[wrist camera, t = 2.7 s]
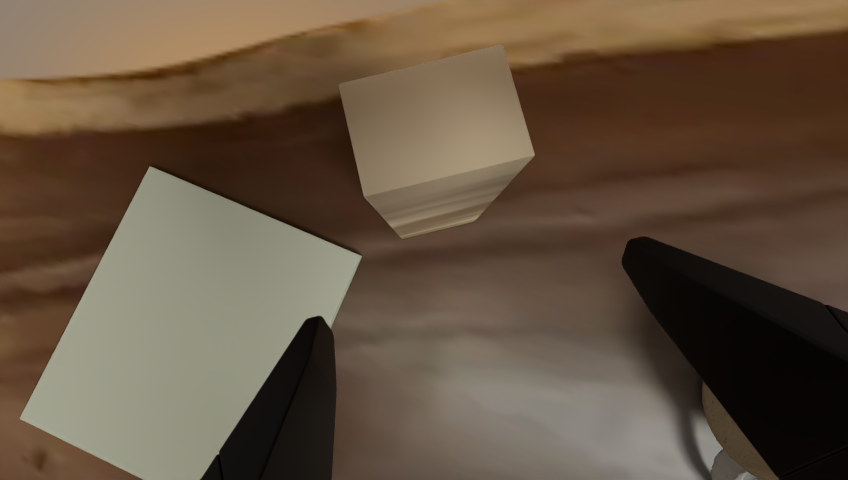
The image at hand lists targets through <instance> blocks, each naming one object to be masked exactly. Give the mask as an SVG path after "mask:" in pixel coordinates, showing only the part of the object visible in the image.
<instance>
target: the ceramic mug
mask: <svg viewBox="0 0 848 480" xmlns="http://www.w3.org/2000/svg"><path fill="white" fill-rule="evenodd" d="M702 402H703V407H704V413H705V416H706V419H707V421H708V424H709V426H710V429H711V431H712V433H713V434H714V436H715V438H716V440H717V441H718V442H719V444H720V445H721V446H722V447H723V450H721V451H720V452H719V453H718V454H717V456H716V457H715V459H714V463H713V466H712V470H711V477H712V480H743V479H744V477H745V476H746V474H747V473H748V472H749V473H751V474H752V475H754V476H755V477H757V478H759V479H760V480H778V477H776V476H775V474H774V473H773V472H772V470H771V469H770V468H769V467H768V465H767V464H766V463H765V461H764V460H763V459H762V457H761V456H760V455H759V453H758V452H757V451H756V450H755V448H754V447H753V446H752V444H751V443H750V442H749V440H748V439H747V438H746V436H745V435H744V434H743V433H742V431H741V430H740V429H739V427H738V426H737V425H736V423H735V422H734V421H733V419H732V418H731V417H730V416H729V414H728V413H727V412H726V410H725V409H724V408H723V406H722V405H721V404H720V402H719V401H718V400H717V399H716V397H715V396H714V395H713V393H712V392H711V391H710V389H709V388H708V387H707V385H706V384H705V383H704V382H703V385H702Z"/></svg>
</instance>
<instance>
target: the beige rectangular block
mask: <svg viewBox="0 0 848 480" xmlns="http://www.w3.org/2000/svg"><path fill="white" fill-rule="evenodd" d="M338 85H339V90H340V94H341V99H342V103H343V107H344V112H345V116H346V121H347V125H348V129H349V134H350V138H351V142H352V147H353V151H354V156H355V160H356V164H357V169H358V173H359V177H360V182H361V186H362V191H363V195H364V197H365V199H366V200H367V201H368V202H369V203H370V204H371V205H372V206H373V207H374V208H375V210H376V211H377V212H378V213H379V214H380V215H381V216H382V217H383V218H384V220H385V221H386V222H387V223H388V224H389V225H390V226H391V227H392V228H393V229H394V231H395V232H396V233H397V234H398V235H399V236H400V237H401V238H402V239H405V238H409V237H413V236H417V235H421V234H425V233H429V232H434V231H438V230H442V229H446V228H450V227H454V226H458V225H462V224H466V223H470V222H474V221H475V220H476V219H477V218H478V217H479V216H480V214H481V213H482V212H483V211H484V210H485V209H486V208H487V207H488V206H489V205H490V204H491V202H492V201H493V200H494V199H495V198H496V197H497V196H498V195H499V194H500V193H501V192H502V190H503V189H504V188H505V187H506V186H507V185H508V184H509V183H510V182H511V181H512V179H513V178H514V177H515V176H516V175H517V174H518V173H519V172H520V171H521V170H522V169H523V167H524V166H525V165H526V164H527V163H528V162H529V161H530V160H531V159H532V158H533V157H534V155H535V154H534V151H533V147H532V144H531V141H530V137H529V134H528V130H527V127H526V123H525V120H524V116H523V113H522V110H521V106H520V103H519V99H518V96H517V92H516V89H515V86H514V82H513V79H512V75H511V72H510V68H509V65H508V61H507V58H506V55H505V51H504V48H503V44H501V45H497V46H493V47H488V48H484V49H480V50H476V51H472V52H468V53H464V54H460V55H455V56H451V57H447V58H443V59H439V60H435V61H431V62H427V63H422V64H418V65H414V66H410V67H406V68H402V69H398V70H394V71H389V72H385V73H381V74H377V75H373V76H369V77H365V78H360V79H356V80H352V81H348V82H344V83H340V84H338Z"/></svg>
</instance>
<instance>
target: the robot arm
mask: <svg viewBox="0 0 848 480" xmlns="http://www.w3.org/2000/svg"><path fill="white" fill-rule="evenodd" d="M622 265H623V268H624V270H625V271H626V273H627V274H628V276H629V278H630V279H631V281H632V283H633V284H634V286H635V288H636V289H637V291H638V293H639V294H640V296H641V297H642V299H643V301H644V302H645V304H646V306H647V307H648V309H649V310H650V312H651V313H652V314H653V316H654V317H655V319H656V320H657V321H658V323H659V324H660V325H661V327H662V328H663V329H664V330H665V332H666V333H667V334H668V336H669V337H670V338H671V340H672V341H673V342H674V344H675V345H676V346H677V347H678V349H679V350H680V351H681V353H682V354H683V355H684V357H685V358H686V359H687V361H688V362H689V363H690V364H691V366H692V367H693V368H694V370H695V371H696V372H697V374H698V375H699V376H700V378H701V379H702V380H703V382H704V383H705V384H706V385H707V387H708V388H709V389H710V391H711V392H712V393H713V395H714V396H715V397H716V399H717V400H718V401H719V402H720V404H721V405H722V406H723V408H724V409H725V410H726V412H727V413H728V414H729V416H730V417H731V418H732V419H733V421H734V422H735V423H736V425H737V426H738V427H739V429H740V430H741V431H742V433H743V434H744V435H745V436H746V438H747V439H748V440H749V442H750V443H751V444H752V446H753V447H754V448H755V450H756V451H757V452H758V453H759V455H760V456H761V457H762V459H763V460H764V461H765V463H766V464H767V465H768V467H769V468H770V469H771V470H772V472H773V473H774V474H775V476H776V477H778V480H848V312H845V311H842V310H840V309H837V308H835V307H832V306H829V305H824V304H823V303H821V302H818V301H816V300H813V299H810V298H808V297H805V296H803V295H800V294H797V293H795V292H792V291H789V290H787V289H784V288H781V287H779V286H776V285H773V284H771V283H768V282H765V281H763V280H760V279H757V278H755V277H752V276H750V275H747V274H744V273H742V272H739V271H736V270H734V269H731V268H728V267H726V266H723V265H720V264H718V263H715V262H712V261H710V260H707V259H704V258H702V257H699V256H697V255H694V254H691V253H689V252H686V251H683V250H681V249H678V248H675V247H673V246H670V245H667V244H665V243H662V242H659V241H657V240H654V239H651V238H649V237H645V236H643V237H638V238H634V239H631V240H629V241H628V242H627V245H626V248H625V251H624V254H623V257H622ZM336 390H337V389H336V367H335V349H334V336H333V332H332V330H331V329H330V327H329V326H328V324H327V323H326V321H325V320H324V318H323V317H322V316H315V317H311V318H307V319H306V320H305V321H304V323H303V324H302V326H301V327H300V329H299V330H298V332H297V333H296V335H295V336H294V338H293V339H292V341H291V342H290V344H289V345H288V347H287V348H286V350H285V351H284V353H283V355H282V356H281V358H280V359H279V361H278V362H277V364H276V365H275V367H274V368H273V370H272V371H271V373H270V374H269V376H268V377H267V379H266V380H265V382H264V383H263V385H262V387H261V388H260V390H259V391H258V393H257V394H256V396H255V397H254V399H253V400H252V402H251V403H250V405H249V406H248V408H247V409H246V411H245V412H244V414H243V415H242V417H241V418H240V420H239V422H238V423H237V425H236V426H235V428H234V429H233V431H232V432H231V434H230V435H229V437H228V438H227V440H226V441H225V443H224V444H223V446H222V447H221V449H220V450H219V454H218V455H216V456H215V458H214V459H213V461H212V462H211V464H210V465H209V467H208V469H207V470H206V472H205V473H204V475H203V476H202V478H201V479H200V480H332V463H333V446H334V429H335V411H336Z"/></svg>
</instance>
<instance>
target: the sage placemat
mask: <svg viewBox="0 0 848 480" xmlns="http://www.w3.org/2000/svg"><path fill="white" fill-rule="evenodd" d="M361 258H362V256H360V255H358V254H356V253H353V252H351V251H349V250H346V249H344V248H342V247H339V246H337V245H335V244H332V243H330V242H327V241H325V240H323V239H320V238H318V237H316V236H313V235H311V234H309V233H306V232H304V231H302V230H299V229H297V228H295V227H292V226H290V225H287V224H285V223H283V222H280V221H278V220H276V219H273V218H271V217H269V216H266V215H264V214H262V213H259V212H257V211H255V210H252V209H250V208H247V207H245V206H243V205H240V204H238V203H236V202H233V201H231V200H229V199H226V198H224V197H222V196H219V195H217V194H214V193H212V192H210V191H207V190H205V189H203V188H200V187H198V186H196V185H193V184H191V183H189V182H186V181H184V180H182V179H179V178H177V177H174V176H172V175H170V174H167V173H165V172H163V171H160V170H158V169H156V168H153V167H149V169H148V171H147V173H146V174H145V176H144V178H143V180H142V182H141V184H140V186H139V188H138V190H137V192H136V194H135V196H134V198H133V200H132V202H131V204H130V206H129V207H128V209H127V211H126V213H125V215H124V217H123V219H122V221H121V223H120V225H119V227H118V229H117V231H116V233H115V235H114V237H113V239H112V240H111V242H110V244H109V246H108V248H107V250H106V252H105V254H104V256H103V258H102V260H101V262H100V264H99V266H98V268H97V270H96V271H95V273H94V275H93V277H92V279H91V281H90V283H89V285H88V287H87V289H86V291H85V293H84V295H83V297H82V299H81V301H80V303H79V304H78V306H77V308H76V310H75V312H74V314H73V316H72V318H71V320H70V322H69V324H68V326H67V328H66V330H65V332H64V334H63V336H62V337H61V339H60V341H59V343H58V345H57V347H56V349H55V351H54V353H53V355H52V357H51V359H50V361H49V363H48V365H47V367H46V369H45V370H44V372H43V374H42V376H41V378H40V380H39V382H38V384H37V386H36V388H35V390H34V392H33V394H32V396H31V398H30V400H29V402H28V403H27V405H26V407H25V409H24V411H23V413H22V415H21V417H20V419H21V420H23V421H25V422H27V423H29V424H31V425H33V426H35V427H37V428H39V429H41V430H44V431H46V432H48V433H50V434H52V435H54V436H56V437H58V438H60V439H62V440H64V441H66V442H68V443H70V444H72V445H74V446H76V447H78V448H80V449H82V450H84V451H86V452H88V453H90V454H92V455H94V456H96V457H98V458H100V459H102V460H105V461H107V462H109V463H111V464H113V465H115V466H117V467H119V468H121V469H123V470H125V471H127V472H129V473H131V474H133V475H135V476H137V477H139V478H141V479H143V480H200V479H201V478H202V476H203V475H204V473H205V472H206V470H207V469H208V467H209V465H210V464H211V462H212V461H213V459H214V458H215V456H216V455H218V454H219V450H220V449H221V447H222V446H223V444H224V443H225V441H226V440H227V438H228V437H229V435H230V434H231V432H232V431H233V429H234V428H235V426H236V425H237V423H238V422H239V420H240V418H241V417H242V415H243V414H244V412H245V411H246V409H247V408H248V406H249V405H250V403H251V402H252V400H253V399H254V397H255V396H256V394H257V393H258V391H259V390H260V388H261V387H262V385H263V383H264V382H265V380H266V379H267V377H268V376H269V374H270V373H271V371H272V370H273V368H274V367H275V365H276V364H277V362H278V361H279V359H280V358H281V356H282V355H283V353H284V351H285V350H286V348H287V347H288V345H289V344H290V342H291V341H292V339H293V338H294V336H295V335H296V333H297V332H298V330H299V329H300V327H301V326H302V324H303V323H304V321H305V320H306V319H307V318H311V317H315V316H322V317H323V318H324V320H325V321H326V323H327V324H328V326H329V327H330V329H331V326H332V324H333V322H334V320H335V317H336V315H337V313H338V310H339V308H340V306H341V304H342V301H343V299H344V297H345V294H346V292H347V290H348V288H349V285H350V283H351V281H352V278H353V276H354V274H355V272H356V269H357V267H358V265H359V262H360V260H361Z"/></svg>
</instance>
